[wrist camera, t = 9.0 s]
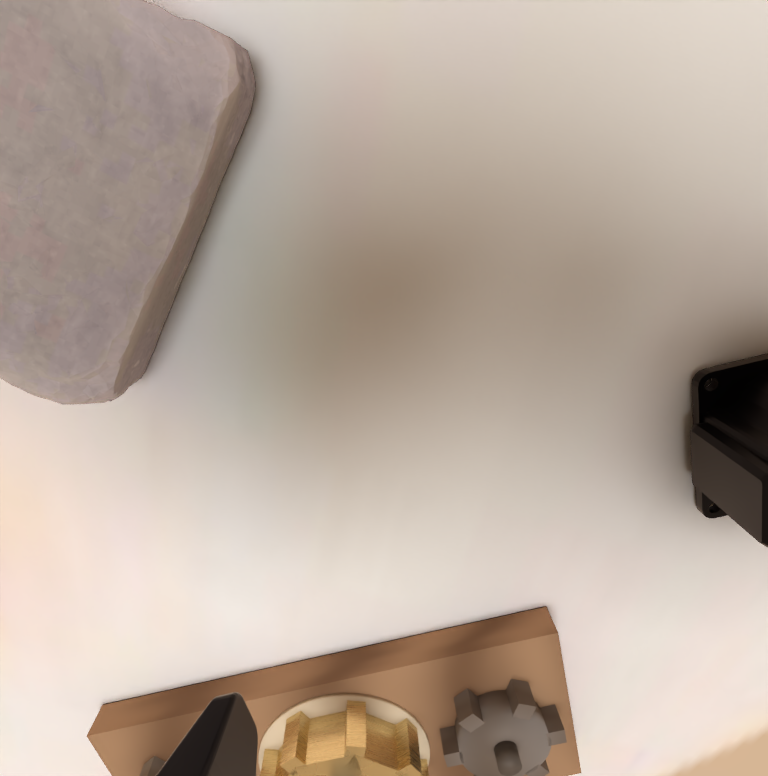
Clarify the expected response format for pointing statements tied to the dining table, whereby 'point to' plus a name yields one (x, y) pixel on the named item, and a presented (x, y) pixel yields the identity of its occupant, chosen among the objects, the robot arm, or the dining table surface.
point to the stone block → (104, 182)
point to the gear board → (388, 701)
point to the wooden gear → (346, 746)
